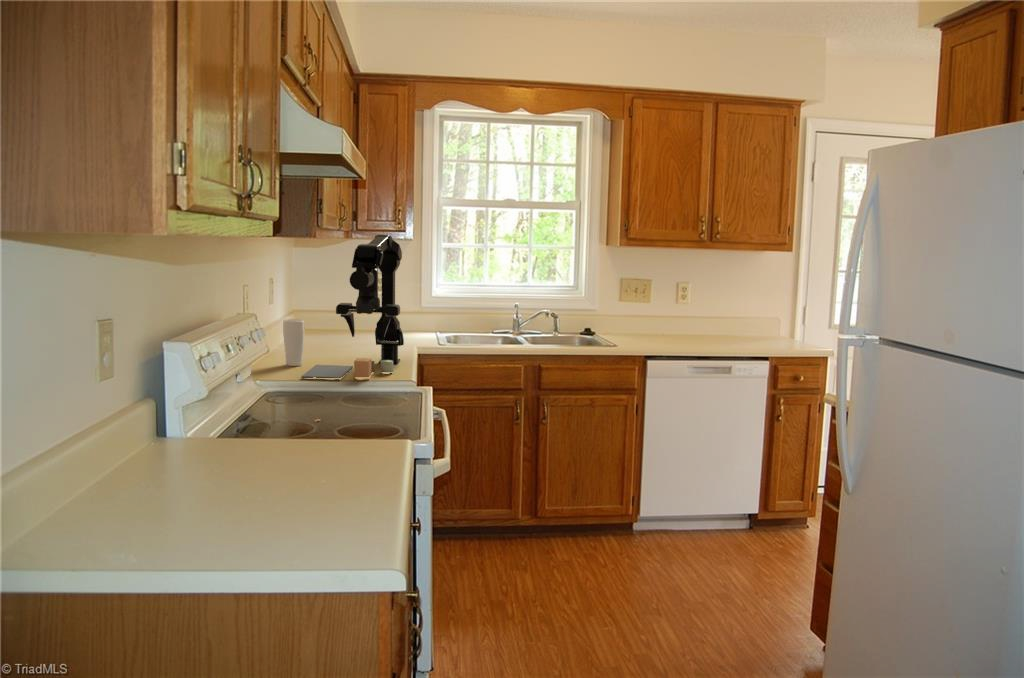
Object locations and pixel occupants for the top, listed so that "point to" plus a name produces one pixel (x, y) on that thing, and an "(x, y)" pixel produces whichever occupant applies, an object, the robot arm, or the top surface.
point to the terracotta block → (362, 367)
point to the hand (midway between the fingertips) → (368, 337)
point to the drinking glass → (293, 341)
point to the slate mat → (327, 371)
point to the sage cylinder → (386, 366)
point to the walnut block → (372, 366)
